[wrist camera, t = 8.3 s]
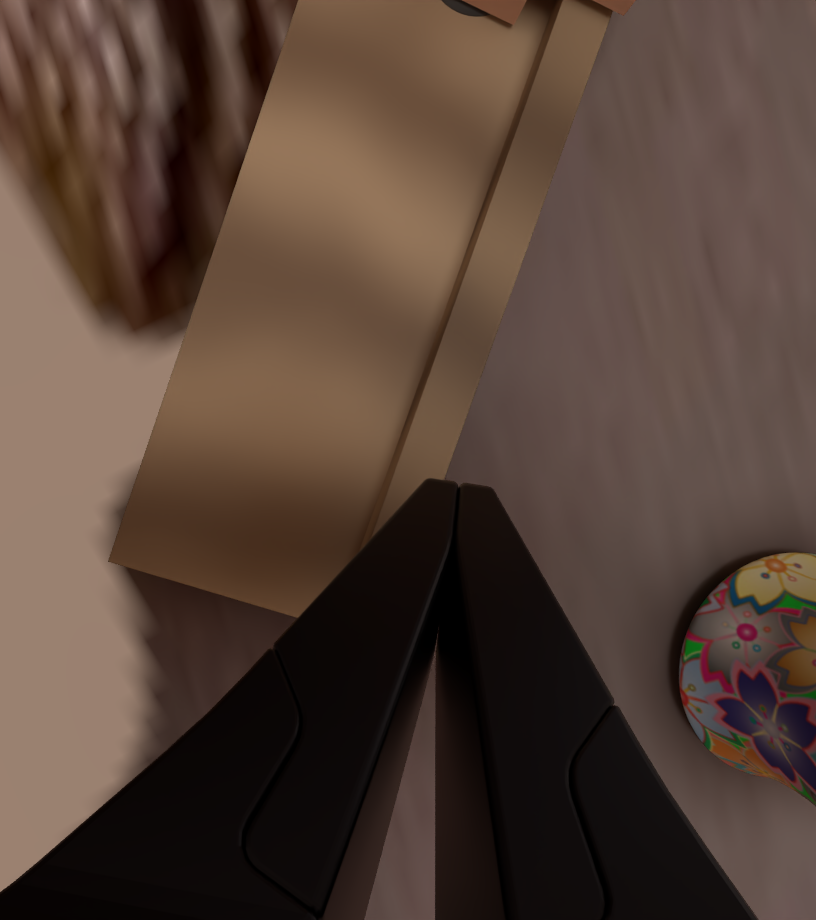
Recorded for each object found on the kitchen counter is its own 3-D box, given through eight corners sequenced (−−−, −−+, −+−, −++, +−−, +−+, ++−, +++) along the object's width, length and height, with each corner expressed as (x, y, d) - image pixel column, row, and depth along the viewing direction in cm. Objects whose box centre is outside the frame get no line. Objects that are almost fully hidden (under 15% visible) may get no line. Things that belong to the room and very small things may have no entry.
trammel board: (379, 631, 22) (437, 860, 11) (118, 553, 20) (-113, 727, 9) (701, -265, 21) (1130, -1013, 10) (447, -417, 19) (616, -1498, 8)
